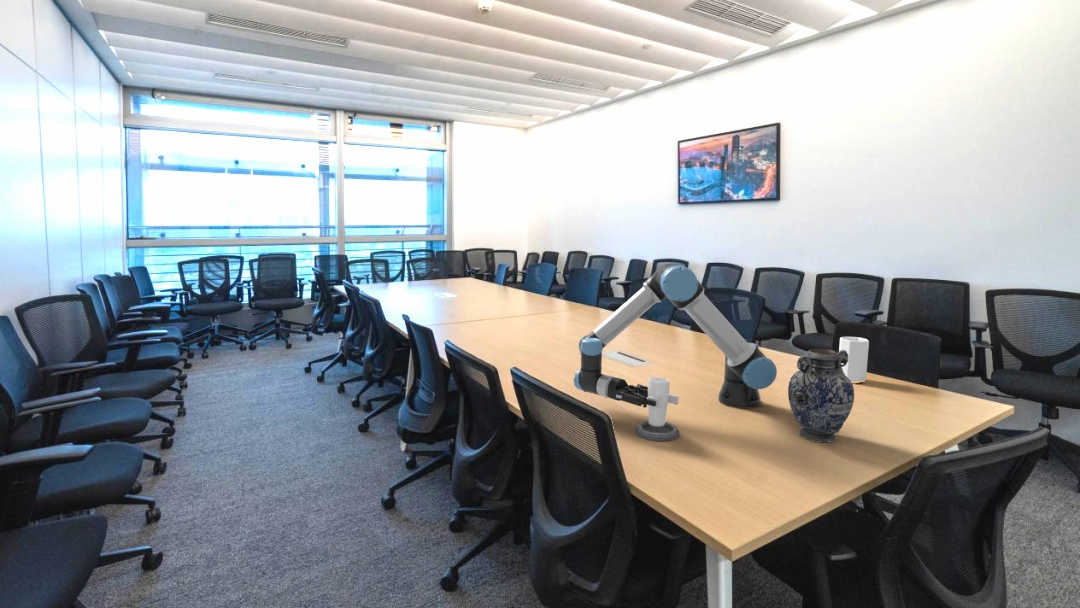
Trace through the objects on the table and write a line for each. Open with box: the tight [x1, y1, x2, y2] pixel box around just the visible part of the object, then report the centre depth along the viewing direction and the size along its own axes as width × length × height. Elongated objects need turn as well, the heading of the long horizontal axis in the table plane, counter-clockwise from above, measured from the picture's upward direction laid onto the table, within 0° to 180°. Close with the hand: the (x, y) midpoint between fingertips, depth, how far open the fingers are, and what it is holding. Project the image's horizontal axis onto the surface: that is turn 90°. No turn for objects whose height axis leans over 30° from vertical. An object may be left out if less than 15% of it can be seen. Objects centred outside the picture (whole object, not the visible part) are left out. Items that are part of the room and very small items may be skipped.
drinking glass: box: [647, 376, 670, 427], centre depth 172 cm, size 7×7×15 cm
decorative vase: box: [787, 348, 855, 443], centre depth 169 cm, size 21×19×28 cm
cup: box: [838, 336, 870, 381], centre depth 232 cm, size 11×11×18 cm
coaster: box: [635, 420, 680, 442], centre depth 173 cm, size 14×14×2 cm
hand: (671, 403), depth 168 cm, fingers closed on drinking glass, 6 cm apart
